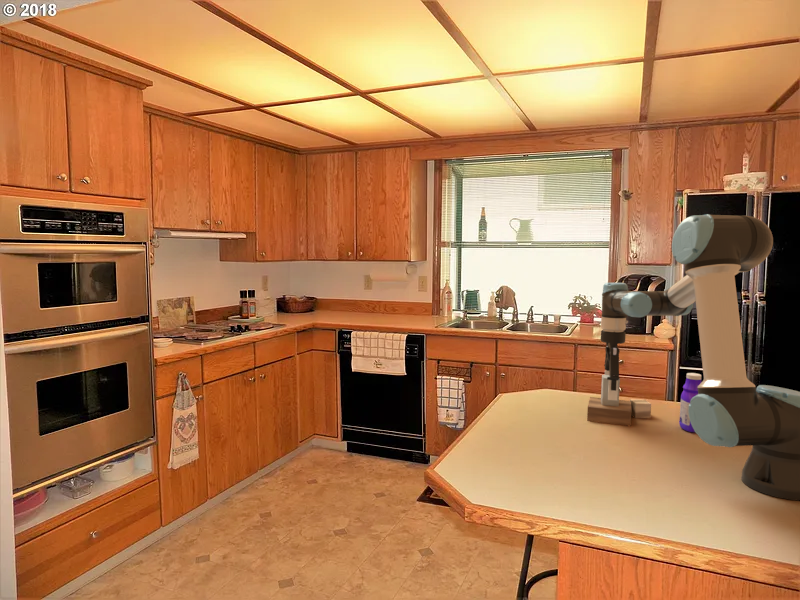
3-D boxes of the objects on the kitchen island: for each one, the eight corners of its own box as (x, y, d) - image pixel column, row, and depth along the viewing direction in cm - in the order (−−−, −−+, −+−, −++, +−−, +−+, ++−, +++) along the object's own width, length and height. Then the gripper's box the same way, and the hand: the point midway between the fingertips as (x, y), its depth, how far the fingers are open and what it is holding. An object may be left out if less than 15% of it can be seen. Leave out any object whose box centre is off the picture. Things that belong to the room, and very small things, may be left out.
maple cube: (650, 418, 182) (651, 403, 182) (635, 418, 182) (636, 403, 182) (643, 413, 187) (644, 399, 187) (629, 413, 187) (629, 399, 187)
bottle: (706, 433, 167) (709, 376, 165) (687, 433, 167) (690, 376, 166) (693, 426, 174) (697, 371, 173) (675, 425, 174) (678, 371, 173)
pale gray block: (618, 406, 179) (619, 379, 178) (602, 405, 180) (603, 378, 180) (616, 402, 184) (618, 375, 183) (600, 401, 185) (602, 374, 184)
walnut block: (630, 427, 174) (631, 411, 174) (587, 421, 179) (587, 406, 178) (630, 415, 186) (631, 401, 186) (589, 411, 191) (590, 396, 190)
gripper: (631, 336, 167) (627, 405, 169) (620, 325, 191) (618, 386, 193) (604, 335, 169) (601, 403, 171) (597, 324, 193) (595, 385, 195)
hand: (610, 394), depth 182 cm, fingers open, 13 cm apart
